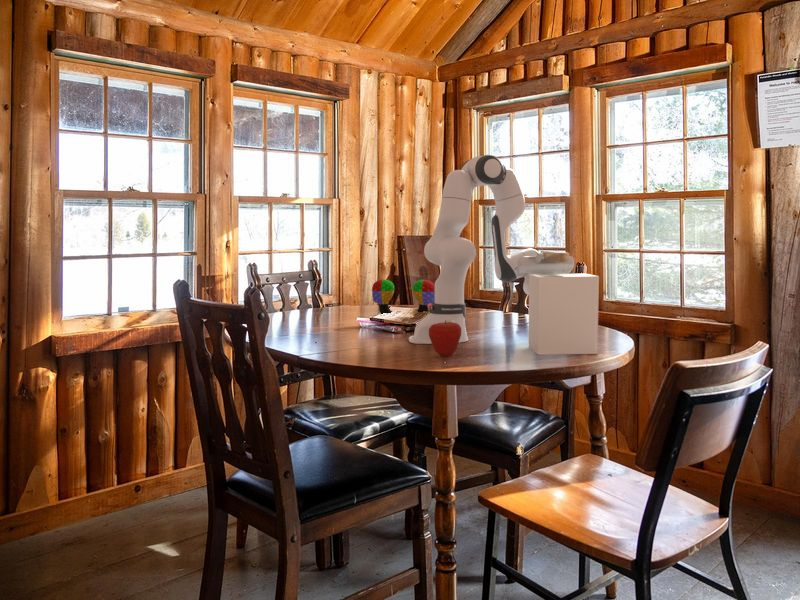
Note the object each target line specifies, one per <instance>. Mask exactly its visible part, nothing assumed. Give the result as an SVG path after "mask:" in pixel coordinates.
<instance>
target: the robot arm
mask: <svg viewBox="0 0 800 600" xmlns="http://www.w3.org/2000/svg"><path fill="white" fill-rule="evenodd" d="M485 186H487V187H488V188H489V189H490V190H491V193H492V195H493V199H494V203H495V212H494V215H493V216H492V218H491V222H490V223H491V227H490V228H491V236H492V246H493V255H494V258H493V259H494V271H495V275H496V278H497V279H498V280H500V281H501V282H503V283H508V284H510V283H511V282H514V281H516V280H517V279H520V278H523V277H524V280H523V285H522V289H523V292H524V293H525V294H526V295H527V296H529V274H540V273H553V274H571V272H572V271H573V269H574V267H575V258H574V257H573V256H572V255H571V256H570V255H569V262H555V261H550V260H544V259H545V256H546V255H545V253H541V252H539V251H538V250H536V249H534V248H532V247H528V248H526V249H523V250H520V251H517V252H514V253H511V254H509V255H508V254H507V245H506V232H507V230H508V229H509V228H510V226H511V225H512V224H513V223H515V222H516V221H518V219H520V218H521V217H522V215H523V214H524V212H525V210H526V200H525V196H524V195H525V194H524V192H523V189H522V186H521V183H520V180H519V178H518V176H517V174H516V172H515V170H513V169H512V168H509V167H506V166H505V165H504V164H503V162H502V160H501V159H500V158H499V157H497V156H496V155H492V154H485V155H478V156H476V157H475V156H474V157H473V158H470V159H468V160H467V161H465V162H464V163H463V165H461V167H460V169H455V170H452V171H450V172H449V173H448V174H447V176H446V179H445V182H444V186H443V190H442V194H441V202H440V209H439V214H438V219H437V222H436V226H435V228H434V231H433V232H432V234H431V235H432V236H431V237H430V238H429V240H428V241H427V242H426V243H425V245H424V249H423V253H424V257H425V258H426V260H427V261H428V262H430V263H432V264H433V265H436V266H441V269H440V272H439V275H438V278H437V279H436V280H435V282H434V285H435V301H434V303H429V305H428V308H429V309H428V313H427V315H426V317H424V318H423V319H422V320H421V321H419V322H418V323H417V324H416V325H415V328H414V332H413V335H410V336H409V337H408V342H410V343H412V344H417V345H420V344H421V345H422V344H423V345H424V344H425V345H427V344H428V345H432V343H431V340H430V337H429V328H430V327H431V326H432V325H433V324H437V323H445V320H446V322H452V323H457V324H459V326H460V327H461V337H460V340H459V343H465V342H468V341H469V337H468V334H467V328H466V319H465V318H466V314H467V313H466V312H467V311H466V310H467V309H466V303H465V284H466V283H465V282H466V277H467V274H468V270H469V267H470V266H471V264H472V263H473V262H474V261H475V258H476V256H477V248H476V245H475V244H474V243H473V242H472V240H470V239H467V238H466V237H461V234H462V232H463V230H464V228H465V227H466V226H467V225H468V223H469V219H470V214H471V213H470V212H471V206H472V198H473V192H474V190H475V187H485ZM459 343H458V344H459Z"/></svg>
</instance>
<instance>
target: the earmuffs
mask: <svg viewBox="0 0 800 600" xmlns="http://www.w3.org/2000/svg"><path fill="white" fill-rule="evenodd" d="M394 284H395V283H393V282H392V281H391V280H388V279H385V278H383V279H378V280H375V282H373V284H372V285H371V286H372V287H371V294H372V301H373V302H374V303H377V304H378V309H379V313H380V315H381V314H383V313H391V312H393V311H392V310H391V308H390V306H389V301H391V299H392V298H393V296H394V293H395V285H394ZM412 293H413V296H414V297H415V299H416V300H417V302H418V305H419V306H418V308H417V310H416V311H418V312H423V311H428V312H429V308H428V305H429V303H431V304H433V303H435V283H434V282H432V281H431V280H429V279H419V280H417V281H416V282H414V284H413V285H412Z"/></svg>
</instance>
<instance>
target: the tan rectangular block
mask: <svg viewBox="0 0 800 600" xmlns="http://www.w3.org/2000/svg"><path fill="white" fill-rule="evenodd" d="M540 253H545V255H546V256H545V259H544V260H550V261H555V262H569V256H570V252H566V251H565V252H564V251H557V250H540Z"/></svg>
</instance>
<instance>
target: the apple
mask: <svg viewBox="0 0 800 600" xmlns="http://www.w3.org/2000/svg"><path fill="white" fill-rule="evenodd" d="M429 337H430V340H431V343H432V344H431V345H432V347H433V349H434V352H435V353H437V354H438V355H439V356H440V357H445V358H447V357H451V356H453V355H454V353H455V352H456V349H457V347H458V345H459V340H460V337H461V327H460V326H459V324H457V323H452V322H446V320H445V323H437V324H433V325H432V326H431V327H430V328H429Z"/></svg>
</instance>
